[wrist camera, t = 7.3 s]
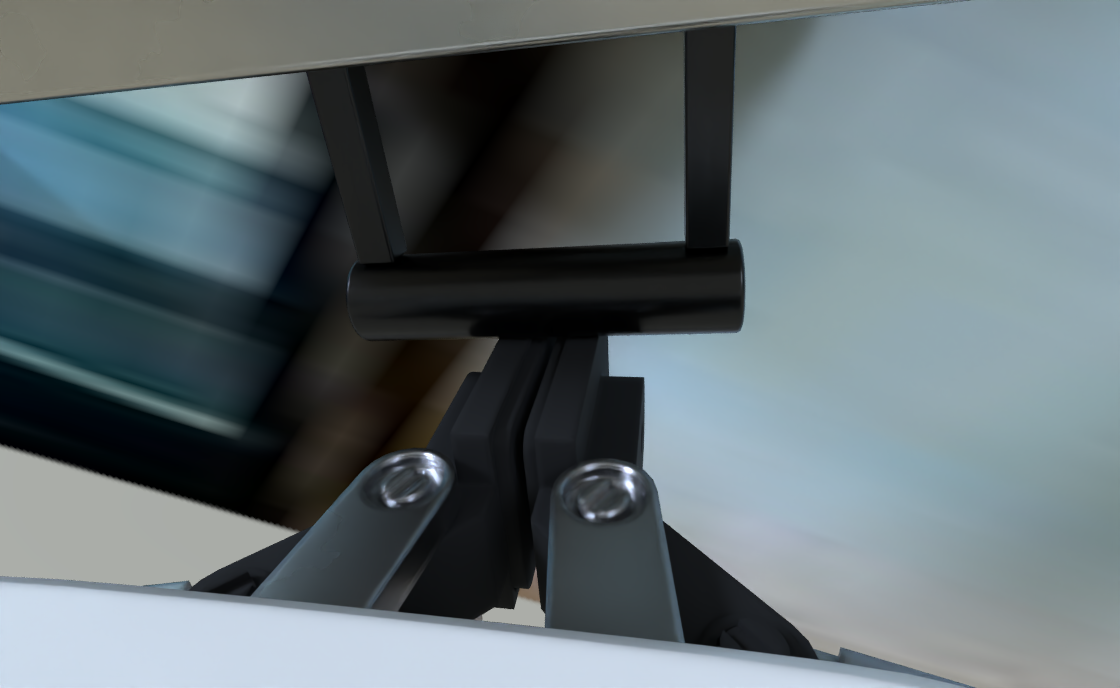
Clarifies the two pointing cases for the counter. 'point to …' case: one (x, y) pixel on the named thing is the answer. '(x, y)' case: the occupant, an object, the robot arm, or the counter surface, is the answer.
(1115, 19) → the counter surface
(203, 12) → the drawer
